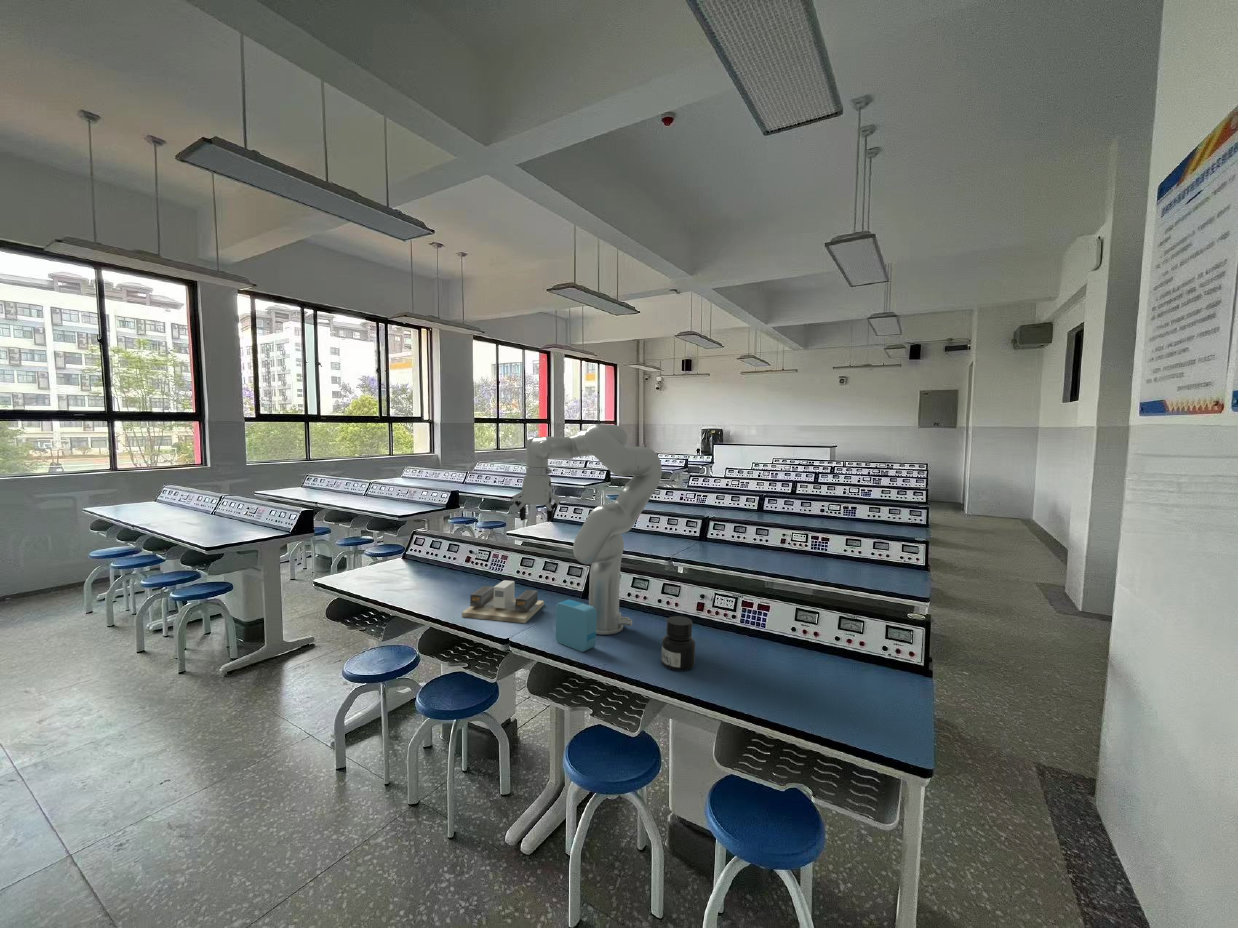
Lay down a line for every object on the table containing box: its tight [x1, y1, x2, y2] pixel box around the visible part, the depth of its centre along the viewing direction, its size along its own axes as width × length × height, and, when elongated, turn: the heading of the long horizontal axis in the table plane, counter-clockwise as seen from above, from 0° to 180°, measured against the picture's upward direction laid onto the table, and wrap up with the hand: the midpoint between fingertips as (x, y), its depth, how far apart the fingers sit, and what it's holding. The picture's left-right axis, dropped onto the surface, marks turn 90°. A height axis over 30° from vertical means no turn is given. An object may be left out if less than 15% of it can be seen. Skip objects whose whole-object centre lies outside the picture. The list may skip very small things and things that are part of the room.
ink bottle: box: [661, 615, 696, 671], centre depth 135 cm, size 10×9×12 cm
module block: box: [493, 580, 516, 609], centre depth 172 cm, size 4×8×7 cm, turn 169°
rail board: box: [461, 585, 545, 624], centre depth 172 cm, size 22×18×6 cm
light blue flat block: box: [555, 598, 597, 653], centre depth 146 cm, size 12×4×12 cm, turn 52°
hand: (536, 520), depth 177 cm, fingers open, 9 cm apart
